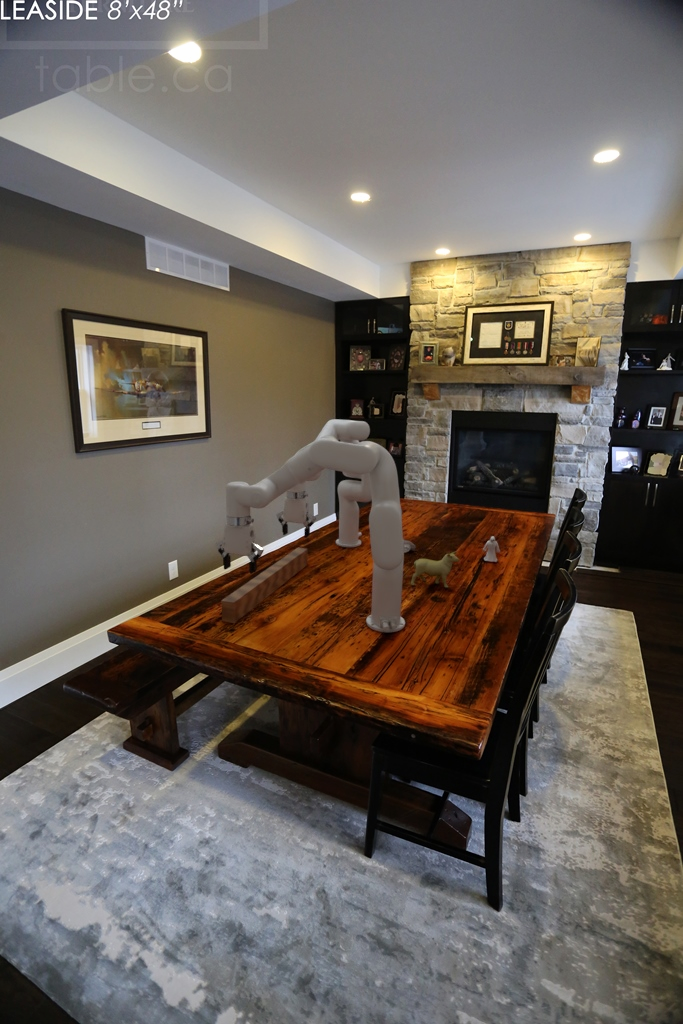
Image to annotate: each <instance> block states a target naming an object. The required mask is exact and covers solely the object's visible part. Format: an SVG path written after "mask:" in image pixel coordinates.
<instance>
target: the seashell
mask: <svg viewBox="0 0 683 1024" xmlns="http://www.w3.org/2000/svg"><path fill="white" fill-rule="evenodd" d="M404 544H405V547H404V554H405V553H408V552H410V551H412V552H413V551H416V548H417V546H416V544H414V543H413V542H412V541H411V540H408V539H404Z"/></svg>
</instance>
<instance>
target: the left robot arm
mask: <svg viewBox="0 0 683 1024" xmlns="http://www.w3.org/2000/svg"><path fill="white" fill-rule="evenodd" d="M370 433H371V428H370V425H369V424H368V422H366V421H363V420H351V419H340V418H339V419H337V418H336V419H335V418H333V419H329V420H328V421H327V422H326V423H325V425H323V427H322V429H321V430H320V432H319V433H318V435H317V436H316V438H315V439H314V441H312V442H310V443H308V444H306V445H305V446H303V447H302V448H300V449H299V450H297V452H295V454H294V455H296V454H297V453H299V452H300V451H302V450H303V449H305V448H306V447H308V446H309V445H311V444H312V443H313V442H315V441H316V440H317V439H319V438H321V437H323V436H332V437H334V438H336V439H337V440H338V441H339V442H345V443H352V444H358V443H360V441H366V440H367V439H368V437H369V435H370ZM321 475H322V471H320V472H319V473H317V474H316V475H314V476H313V477H311V478H310V479H308V480H307V481H305V482H304V483H302V484H298V485H296V486H294V487H292V488H291V489H289V490H287V491H286V497H284V502H283V510H282V511H280V512H277V513H276V514H275V515H276V518H277V520H278V522H279V523H280V525H281V527H282V529H281V531H282V535H283V536H286V535H287V534H288V533H289V525H288V523H293V524H302V525H303V526H304V527H305V528H304V533H303V534H304V538H305V539H307V538H308V537H310V534H311V527H312V526H314V524H315V522H316V520H317V517H315V516H314V515H313V514H311V513H310V506H309V501H308V498H307V497H309V493H308V492H307V490H306V482H314V481H317V480H319V478H320V477H321ZM342 475H343V476H345V477H347V478H353V479H359V480H353V479H345V480H344V479H343V480H341V481H340V482H339V483H338V485H337V495H338V502H339V511H338V513H339V514H338V519H339V520H338V538H337V539H336V540H335V545H337V546H338V547H342V548H355V547H356V548H357V547H360V546H361V545H362V540H360V539H359V538H360V537H361V536H363V534H362V532H361V531H359V527H360V507H359V504H358V502H359V503H369V502H372V495H371V486H370V475H369V473H366V474H354V473H348V472H342ZM360 480H361V481H360Z"/></svg>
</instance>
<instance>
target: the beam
mask: <svg viewBox="0 0 683 1024" xmlns="http://www.w3.org/2000/svg"><path fill="white" fill-rule="evenodd" d="M308 550H309V549H308V548H305V547H296V548H295V549H294V550H292V551H291V552H289V553H288V554H287V555H285V556H284V557H282V558H280V559H279V560H277V561H276V562H275V563H273V564H272V565H270V566H269V567H268V568H266V569H265V570H263V571H262V572H260V573H259V574H258V575H256V576H255V577H253V578H251V579H250V580H249V581H247V582H246V583H244V584H243V585H242V586H240V587H239V588H237V589H236V590H234V591H233V592H231V593H230V594H228V595H227V596H226V597H224V598H223V599H222V600H221V601H220V603H221V621H222V622H225V623H231V624H235V623H237V622H238V621H239V620H241V619H242V618H243V617H244V616H245V615H247V614H248V613H249V612H251V611H252V610H253V609H255V608H256V606H258V605H259V604H260V603H262V602H263V601H264V600H266V599H267V598H268V597H269V596H270V595H272V594H273V593H275V592H276V591H277V590H279V588H281V587H282V586H283V585H284V584H286V583H287V582H288V581H289V580H290V579H292V578H293V577H294V576H295V575H297V574H298V573H299V572H301V571H302V570H303V569H304V568H305V567H307V566H308V563H309V562H308V561H309V560H308V557H309V555H308V554H309V553H308Z"/></svg>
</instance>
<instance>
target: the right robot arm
mask: <svg viewBox="0 0 683 1024" xmlns="http://www.w3.org/2000/svg"><path fill="white" fill-rule="evenodd" d="M315 440H316V439H315ZM315 440H314V441H315ZM314 441H312V442H313V443H312V442H311V443H312V444H311V445H309V446H308V447H306V448H305V449H303V450H302V451H300V452H299V453H297V452H296V453H297V454H296V453H295V454H296V455H295V454H294V455H292V456H291V457H290V458H288V459H287V460H286V461H285V462H284V464H283V465H282V466H281V467H279V468H278V469H276V470H275V471H273V472H272V473H270V474H269V475H268V476H266V477H265V478H263V479H261V480H260V481H258V482H256V483H254V484H252V485H250V484H249V483H248V482H245V481H230V482H228V483H226V485H225V505H226V506H225V510H226V511H225V512H226V522H225V525H224V529H223V539H222V540H219V541H218V542H216V543H215V546H216V549H217V551H218V553H219V554H220V556H221V557H220V558H222V565H223V570H227V569H229V568H231V566H232V561H231V559H232V557H231V555H235V556H243V557H247V558H248V559H249V561H250V562H249V563H248V566H249V567H248V569H249V570H248V571H249V574H250V575H252V574H254V573H256V571H257V570H258V569H257V568H258V563H257V562H258V560H259V559H260V558H261V557H262V554H263V553H264V551H265V549H264V547H263V548H262V547H261V546H260V545H259V544H257V538H256V531H255V527H254V524H253V523H255V519H254V518H253V517H252V515H251V508H254V509H263V508H266V507H267V506H268V505H270V503H272V502H273V501H275V500H276V499H277V498H279V497H280V496H281V495H283V494H284V493H287V490H289V489H291V488H292V487H294V486H296V485H298V484H302V483H304V482H305V483H306V482H308V481H307V480H308V479H310V478H311V477H313V476H314V475H316V474H317V473H319V472H320V471H321V472H323V471H324V470H325V469H327V470H330V471H335V472H336V471H337V472H342V473H343V472H348V473H354V474H366V473H369V475H370V486H371V495H372V500H371V508H370V511H369V515H368V527H369V540H370V551H371V558H372V561H373V563H372V585H371V586H372V587H371V607H370V609H371V613H370V615H368V616H367V617H366V621H365V622H366V623H365V624H366V625H367V627H368V628H369V629H372V630H373V631H376V632H379V633H396V632H398V631H402V630H403V629H404V628H405V626H406V620H405V618H403V617H402V615H401V614H402V599H403V598H402V597H403V580H404V561H405V552H404V547H405V544H404V540H405V539H404V534H403V532H404V531H403V509H402V507H401V498H400V487H399V486H400V485H399V476H398V469H397V466H396V465H397V464H396V463H395V462H396V461H395V460H394V458H393V456H392V455H391V454H390V452H389V451H388V450H387V449H386V448H385V447H383V446H382V445H381V444H379V443H376V442H374V441H372V440H371V441H370V440H361V441H359V443H358V444H352V443H345V442H341V441H340V440H337V439H336V438H334V437H332V436H323V437H321V438H319V439H317V440H316V441H315V442H314ZM256 552H257V553H256Z"/></svg>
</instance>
